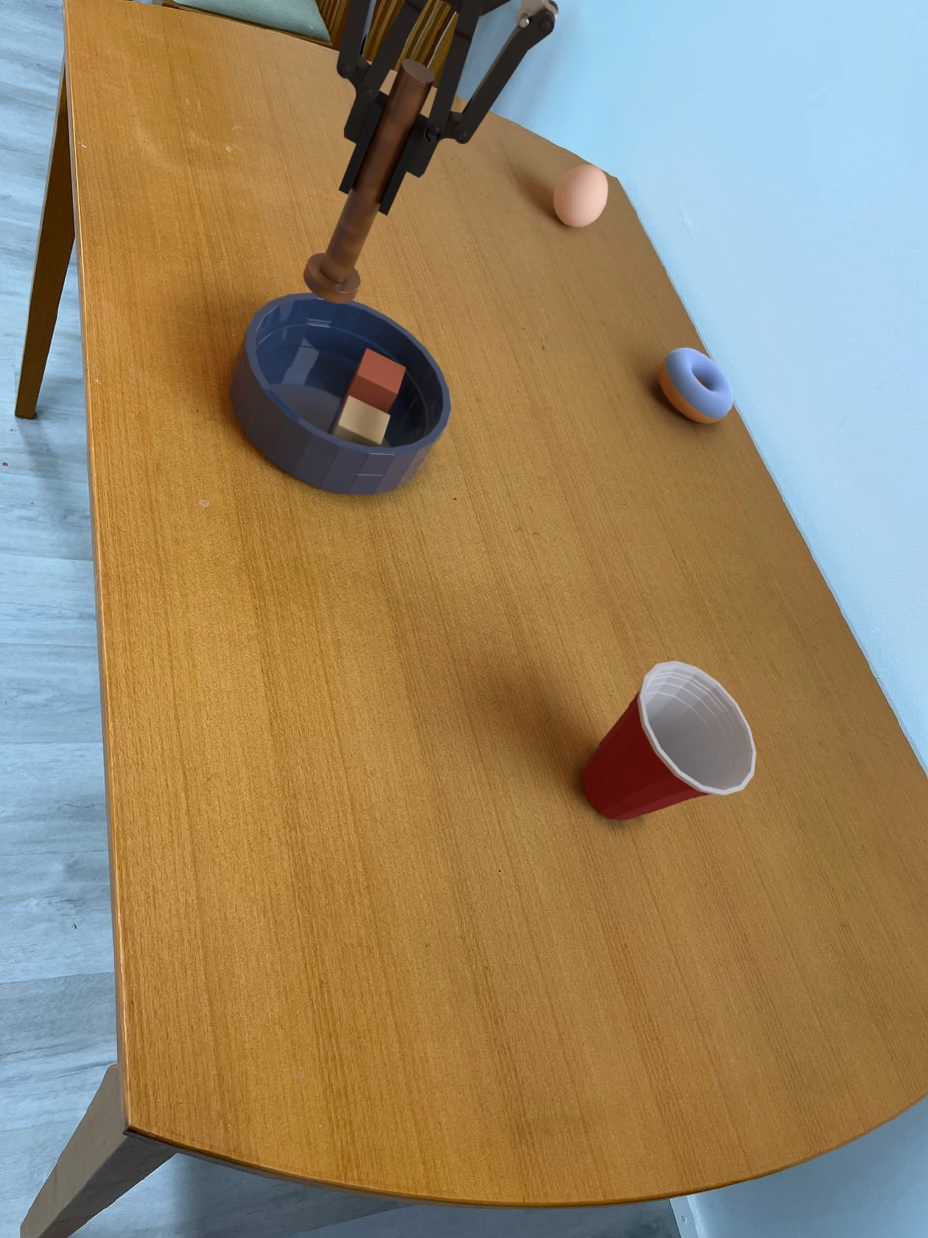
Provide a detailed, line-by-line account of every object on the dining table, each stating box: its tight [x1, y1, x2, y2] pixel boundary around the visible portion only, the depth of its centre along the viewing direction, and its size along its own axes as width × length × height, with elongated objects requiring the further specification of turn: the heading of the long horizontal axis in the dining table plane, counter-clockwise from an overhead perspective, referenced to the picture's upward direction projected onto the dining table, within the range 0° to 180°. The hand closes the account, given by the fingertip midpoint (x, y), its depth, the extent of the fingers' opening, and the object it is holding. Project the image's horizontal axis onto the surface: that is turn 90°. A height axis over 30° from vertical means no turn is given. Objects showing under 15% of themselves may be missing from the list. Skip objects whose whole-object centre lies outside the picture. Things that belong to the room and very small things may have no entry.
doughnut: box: [657, 347, 734, 425], centre depth 115 cm, size 10×10×5 cm
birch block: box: [330, 396, 390, 447], centre depth 85 cm, size 4×4×4 cm
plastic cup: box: [581, 660, 757, 822], centre depth 75 cm, size 11×11×12 cm
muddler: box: [302, 58, 435, 304], centre depth 70 cm, size 4×4×18 cm
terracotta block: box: [342, 348, 406, 413], centre depth 89 cm, size 4×4×4 cm
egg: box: [552, 163, 609, 228], centre depth 124 cm, size 7×7×8 cm
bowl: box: [228, 291, 452, 496], centre depth 86 cm, size 19×19×6 cm
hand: (367, 193), depth 71 cm, fingers closed on muddler, 2 cm apart
